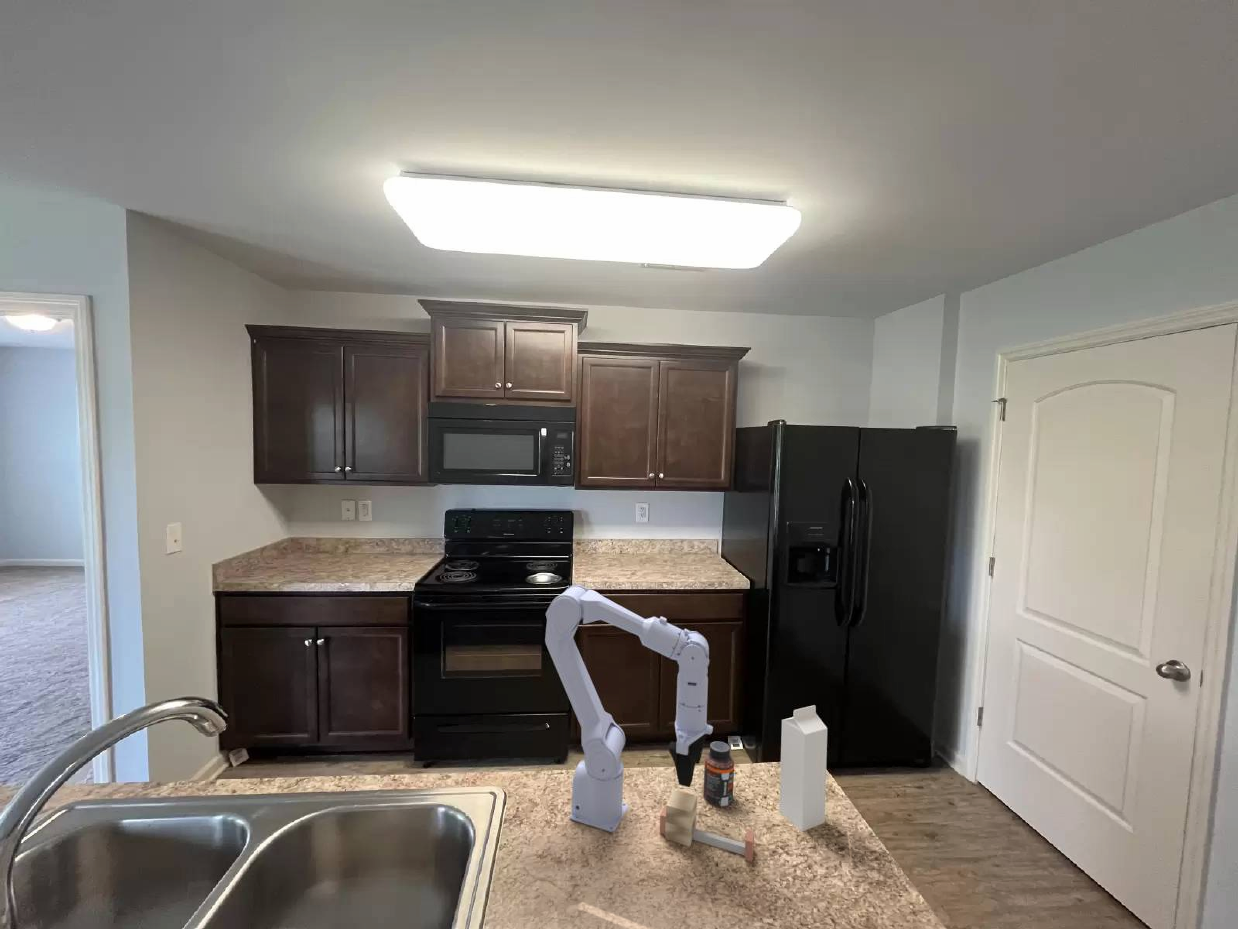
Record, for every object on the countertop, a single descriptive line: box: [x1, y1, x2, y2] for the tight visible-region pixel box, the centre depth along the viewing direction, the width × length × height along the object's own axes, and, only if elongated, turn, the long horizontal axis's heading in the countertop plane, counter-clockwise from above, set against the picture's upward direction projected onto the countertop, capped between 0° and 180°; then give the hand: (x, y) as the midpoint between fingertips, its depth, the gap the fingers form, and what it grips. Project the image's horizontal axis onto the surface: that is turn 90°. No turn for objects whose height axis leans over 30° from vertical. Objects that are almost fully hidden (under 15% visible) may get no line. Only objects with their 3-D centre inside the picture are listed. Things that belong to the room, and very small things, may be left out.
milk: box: [778, 704, 828, 832], centre depth 96 cm, size 6×6×22 cm
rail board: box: [659, 804, 755, 863], centre depth 88 cm, size 17×9×4 cm, turn 69°
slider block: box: [664, 788, 698, 847], centre depth 90 cm, size 5×5×6 cm
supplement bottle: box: [703, 740, 735, 809], centre depth 101 cm, size 6×6×11 cm
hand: (689, 773), depth 93 cm, fingers open, 7 cm apart
